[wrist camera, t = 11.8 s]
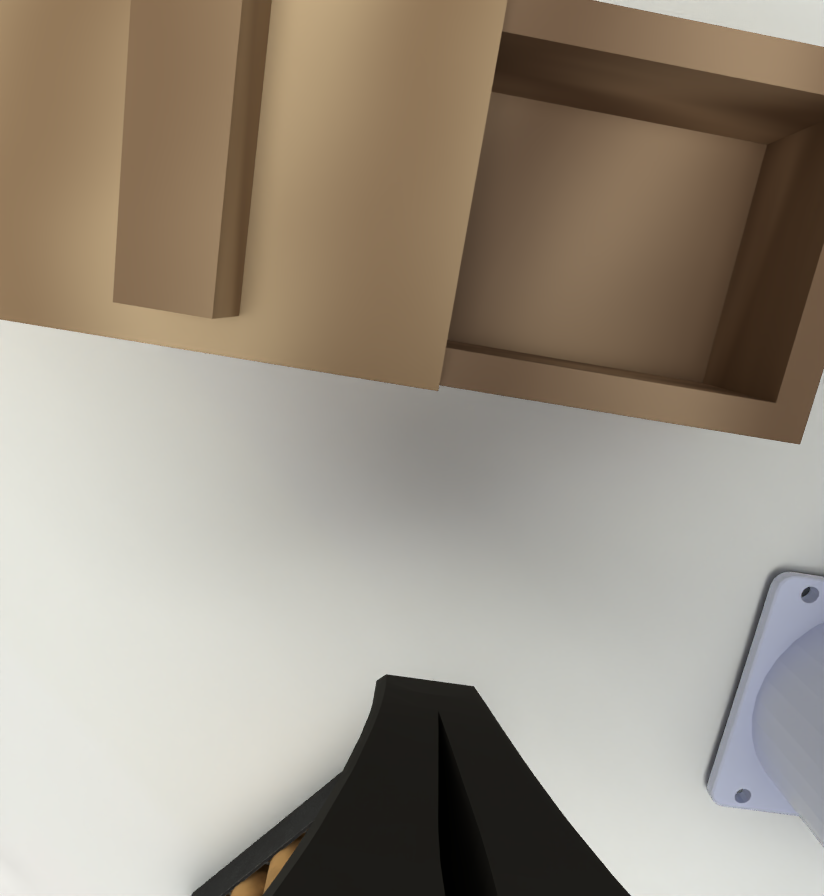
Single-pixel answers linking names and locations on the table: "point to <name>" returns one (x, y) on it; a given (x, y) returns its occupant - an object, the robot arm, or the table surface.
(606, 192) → the wooden box
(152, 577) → the table surface
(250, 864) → the ammunition clip
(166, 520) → the table surface
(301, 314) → the lid
